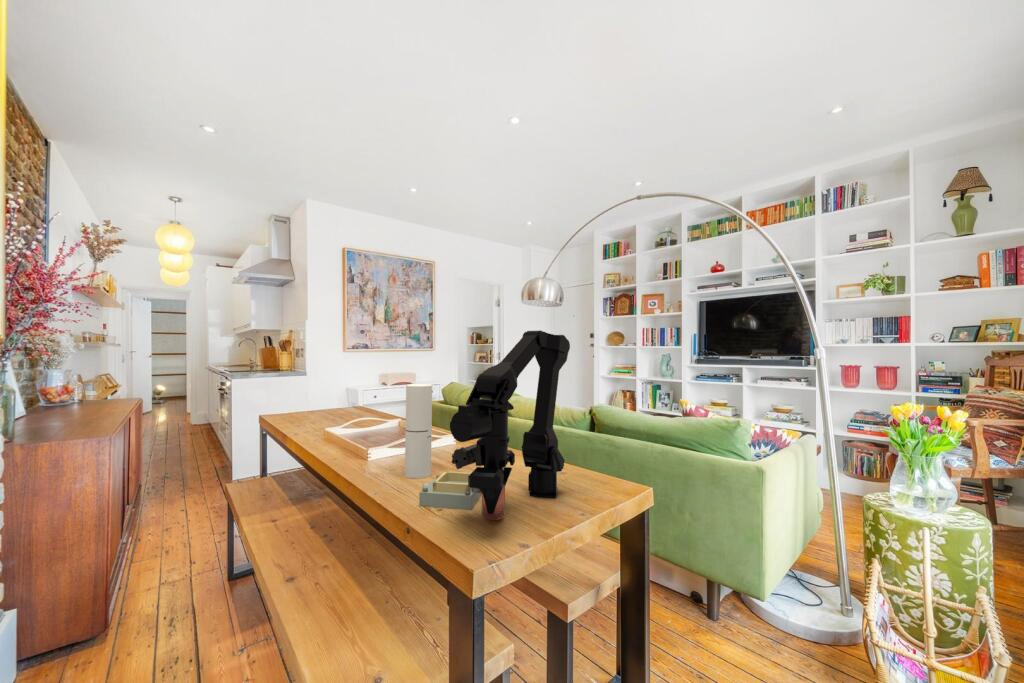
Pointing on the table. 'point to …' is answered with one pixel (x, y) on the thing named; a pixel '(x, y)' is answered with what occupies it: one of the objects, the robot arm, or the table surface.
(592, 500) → the table surface
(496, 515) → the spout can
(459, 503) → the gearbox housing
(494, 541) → the table surface
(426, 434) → the cylindrical container
